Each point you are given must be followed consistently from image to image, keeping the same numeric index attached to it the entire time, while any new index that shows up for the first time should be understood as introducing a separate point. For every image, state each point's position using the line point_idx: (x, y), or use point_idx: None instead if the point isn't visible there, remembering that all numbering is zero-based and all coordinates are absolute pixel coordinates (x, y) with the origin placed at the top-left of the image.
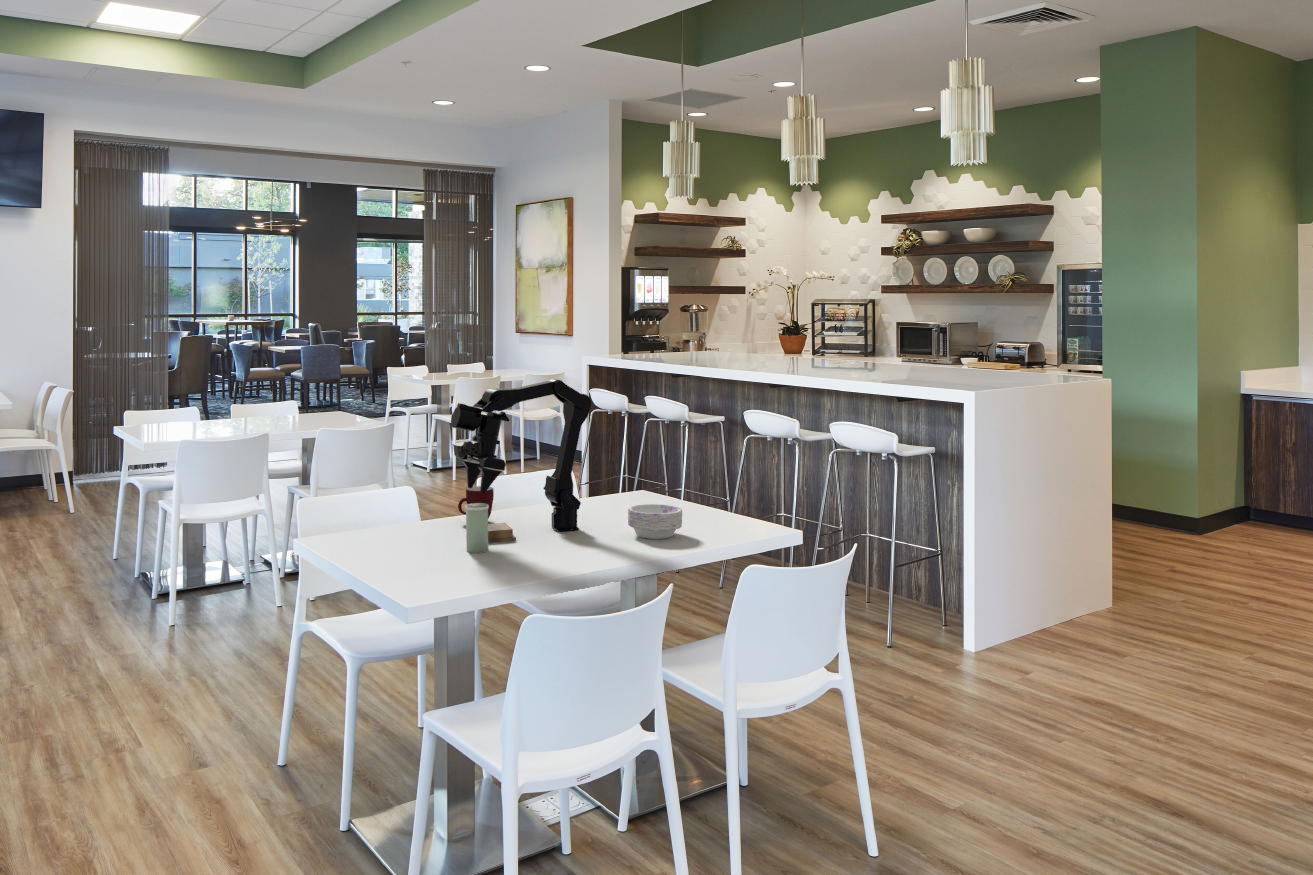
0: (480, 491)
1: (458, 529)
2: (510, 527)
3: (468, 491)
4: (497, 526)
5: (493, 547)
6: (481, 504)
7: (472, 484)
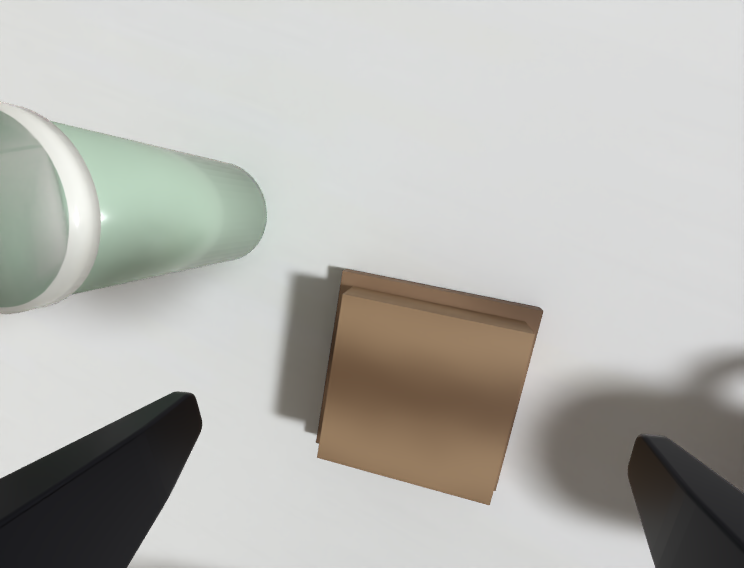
0: (177, 398)
1: (738, 312)
2: (361, 469)
3: None
4: (420, 429)
5: (243, 296)
6: (8, 263)
7: (650, 525)
